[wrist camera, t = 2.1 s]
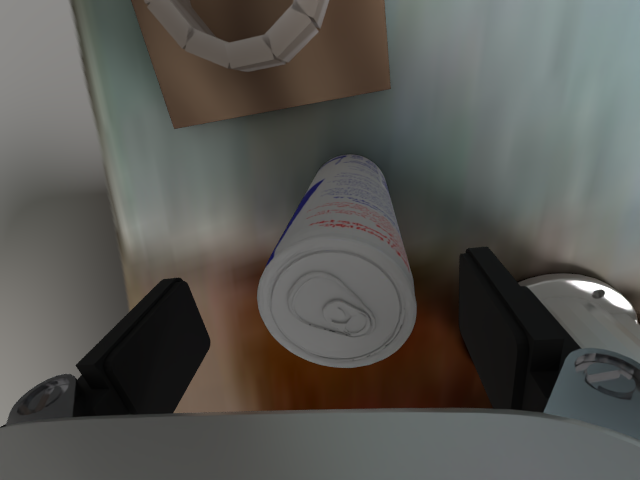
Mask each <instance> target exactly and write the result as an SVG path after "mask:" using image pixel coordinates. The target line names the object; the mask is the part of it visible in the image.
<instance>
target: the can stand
mask: <svg viewBox="0 0 640 480" xmlns="http://www.w3.org/2000/svg"><path fill="white" fill-rule="evenodd" d="M131 2H132V5H133V8H134V10H135V13H136V16H137V19H138V22H139V25H140V28H141V31H142V34H143V37H144V40H145V43H146V46H147V49H148V52H149V55H150V58H151V61H152V64H153V67H154V70H155V73H156V76H157V79H158V82H159V85H160V88H161V91H162V94H163V97H164V100H165V103H166V106H167V109H168V112H169V115H170V118H171V121H172V124H173V127H174V129H177V128H182V127H188V126H193V125H198V124H204V123H209V122H215V121H220V120H225V119H231V118H236V117H242V116H247V115H252V114H258V113H263V112H269V111H274V110H279V109H285V108H290V107H296V106H301V105H306V104H312V103H317V102H323V101H328V100H333V99H339V98H344V97H350V96H355V95H360V94H366V93H371V92H377V91H382V90H387V89H391V86H390V72H389V59H388V45H387V31H386V17H385V3H384V0H131Z"/></svg>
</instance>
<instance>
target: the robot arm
mask: <svg viewBox="0 0 640 480" xmlns="http://www.w3.org/2000/svg"><path fill="white" fill-rule="evenodd" d="M459 328H460V332H461V335H462V337H463V340H464V342H465V344H466V346H467V349H468V351H469V353H470V356H471V358H472V360H473V363H474V365H475V367H476V370H477V372H478V374H479V377H480V379H481V381H482V384H483V386H484V388H485V390H486V393H487V395H488V397H489V400H490V402H491V404H492V407H493V409H483V408H389V409H334V410H286V411H244V412H204V413H173V412H174V410H175V409H176V407H177V405H178V403H179V402H180V400H181V398H182V396H183V394H184V393H185V391H186V389H187V387H188V386H189V384H190V382H191V380H192V378H193V377H194V375H195V373H196V371H197V369H198V368H199V366H200V364H201V362H202V361H203V359H204V357H205V355H206V353H207V352H208V350H209V348H210V338H209V335H208V333H207V330H206V328H205V325H204V323H203V320H202V318H201V315H200V313H199V310H198V308H197V306H196V303H195V301H194V298H193V296H192V293H191V291H190V288H189V286H188V284H187V283H186V282H185V281H183V280H182V279H181V278H171V279H163V280H162V281H160V282H159V283H158V284H157V285H156V286H155V287H154V288H153V289H152V290H151V291H150V292H149V293H148V294H147V295H146V296H145V297H144V298H143V299H142V300H141V301H140V302H139V303H138V304H137V305H136V306H135V307H134V308H133V309H132V310H131V311H130V312H129V313H128V314H127V315H126V316H125V317H124V318H123V319H122V320H121V321H120V322H119V323H118V324H117V325H116V326H115V327H114V328H113V329H112V330H111V331H110V332H109V333H108V334H107V335H106V336H105V337H104V338H103V339H102V340H101V341H100V342H99V343H98V344H97V345H96V346H95V347H94V348H93V349H92V350H91V351H90V352H89V353H88V354H87V355H86V356H85V357H84V358H83V359H82V360H81V361H79V363H78V364H76V367H77V368H78V369H79V371H80V373H81V374H82V375H81V376H80V378H79V379H78V380H77V379H76V378H75V376H73V375H71V374H62V375H58V376H55V377H52V378H50V379H47V380H45V381H44V382H42V383H40V384H38V385H36V386H35V387H34V388H32V389H31V390H29V391H28V392H27V393H26V394H24V395H23V396H22V397H21V398H20V399H19V400H18V401H17V402H16V404H15V405H14V406H13V408H12V409H11V411H10V414H9V417H8V420H7V423H6V424H5V425H3V426H1V427H0V480H640V325H639V323H638V319H637V314H636V312H635V310H634V308H633V307H632V305H631V303H630V302H629V301H628V300H627V299H626V298H625V297H624V296H623V295H622V294H621V293H619V292H618V291H617V290H615V289H614V288H612V287H611V286H610V285H608V284H606V283H604V282H602V281H600V280H598V279H595V278H592V277H588V276H584V275H580V274H567V273H559V274H546V275H542V276H537V277H533V278H529V279H526V280H523V281H521V282H517V281H516V280H515V279H514V278H513V276H512V275H511V274H510V273H509V272H508V271H507V269H506V268H505V267H504V266H503V265H502V263H501V262H500V261H499V260H498V259H497V257H496V256H495V255H494V254H493V253H492V251H491V250H490V249H489V248H488V247H478V248H468V249H467V250H466V253H464V254H460V264H459Z"/></svg>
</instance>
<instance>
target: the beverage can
mask: <svg viewBox="0 0 640 480" xmlns="http://www.w3.org/2000/svg"><path fill="white" fill-rule="evenodd" d="M257 300H258V307H259V311H260V315H261V317H262V319H263V321H264V323H265V325H266V327H267V328H268V330H269V332H270V333H271V334H272V336H273V337H274V338H275V339H276V340H277V341H278V342H279V343H280V344H281V345H283V346H284V347H285V348H286V349H288V350H289V351H291V352H292V353H294V354H295V355H297V356H299V357H301V358H303V359H306V360H308V361H310V362H314V363H317V364H320V365H325V366H330V367H343V368H352V367H359V366H365V365H370V364H373V363H375V362H378V361H380V360H382V359H385V358H387V357H388V356H390V355H391V354H393V353H394V352H396V351H397V350H398V349H399V348H400V347H401V346H402V345H403V344H404V342H405V341H406V340H407V338H408V337H409V335H410V334H411V332H412V329H413V327H414V324H415V320H416V305H417V304H416V299H415V294H414V282H413V277H412V273H411V270H410V266H409V262H408V259H407V255H406V252H405V248H404V245H403V241H402V237H401V234H400V230H399V227H398V223H397V219H396V216H395V212H394V209H393V205H392V202H391V198H390V194H389V191H388V187H387V184H386V180H385V177H384V175H383V173H382V172H381V170H380V169H379V167H378V166H377V165H376V164H375V163H373V162H372V161H371V160H369V159H367V158H365V157H362V156H359V155H353V154H346V155H340V156H337V157H334V158H332V159H330V160H329V161H327V162H326V163H325V164H324V165H322V167H321V168H320V169H319V170H318V172H317V174H316V175H315V178H314V179H313V181H312V183H311V185H310V186H309V188H308V190H307V192H306V194H305V195H304V197H303V199H302V201H301V203H300V204H299V206H298V208H297V210H296V212H295V213H294V215H293V217H292V219H291V220H290V222H289V224H288V226H287V228H286V229H285V231H284V233H283V235H282V237H281V238H280V240H279V242H278V244H277V246H276V247H275V249H274V251H273V253H272V254H271V256H270V258H269V260H268V263H267V265H266V268H265V270H264V272H263V274H262V276H261V278H260V282H259V286H258V293H257Z"/></svg>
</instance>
